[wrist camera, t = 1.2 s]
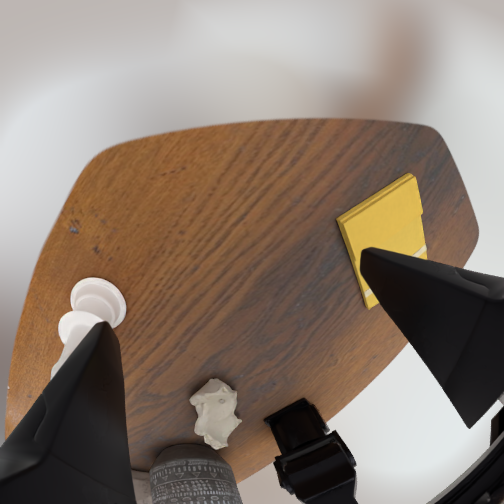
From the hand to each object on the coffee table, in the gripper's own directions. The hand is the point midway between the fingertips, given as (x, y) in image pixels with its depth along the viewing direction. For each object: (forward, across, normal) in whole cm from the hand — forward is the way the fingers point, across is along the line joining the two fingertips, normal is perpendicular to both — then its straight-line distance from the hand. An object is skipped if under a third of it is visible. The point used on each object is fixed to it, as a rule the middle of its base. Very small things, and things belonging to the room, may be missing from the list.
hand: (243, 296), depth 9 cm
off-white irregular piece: (+12, +4, +24) cm, 27 cm away
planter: (+11, +12, +36) cm, 39 cm away
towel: (+13, -18, +9) cm, 24 cm away
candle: (+14, +11, +7) cm, 19 cm away
